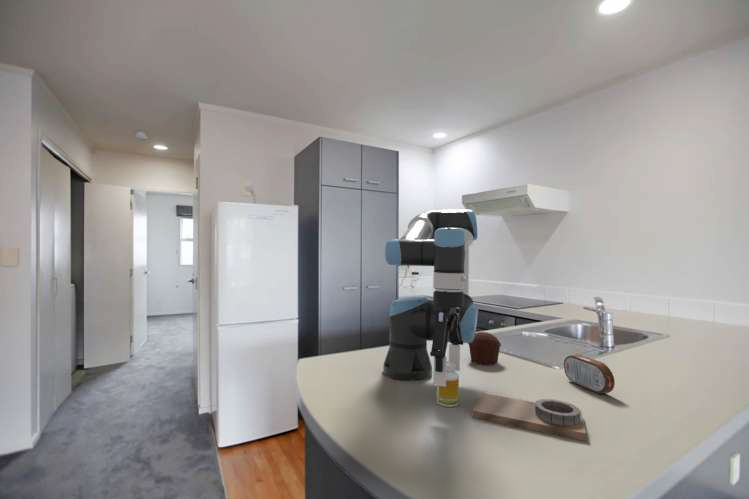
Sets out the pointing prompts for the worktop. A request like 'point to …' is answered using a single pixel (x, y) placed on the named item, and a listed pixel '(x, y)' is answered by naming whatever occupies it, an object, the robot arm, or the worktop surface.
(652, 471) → the worktop surface
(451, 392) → the supplement bottle
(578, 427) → the board
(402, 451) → the worktop surface
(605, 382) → the tin
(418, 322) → the robot arm
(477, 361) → the muffin
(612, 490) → the worktop surface
